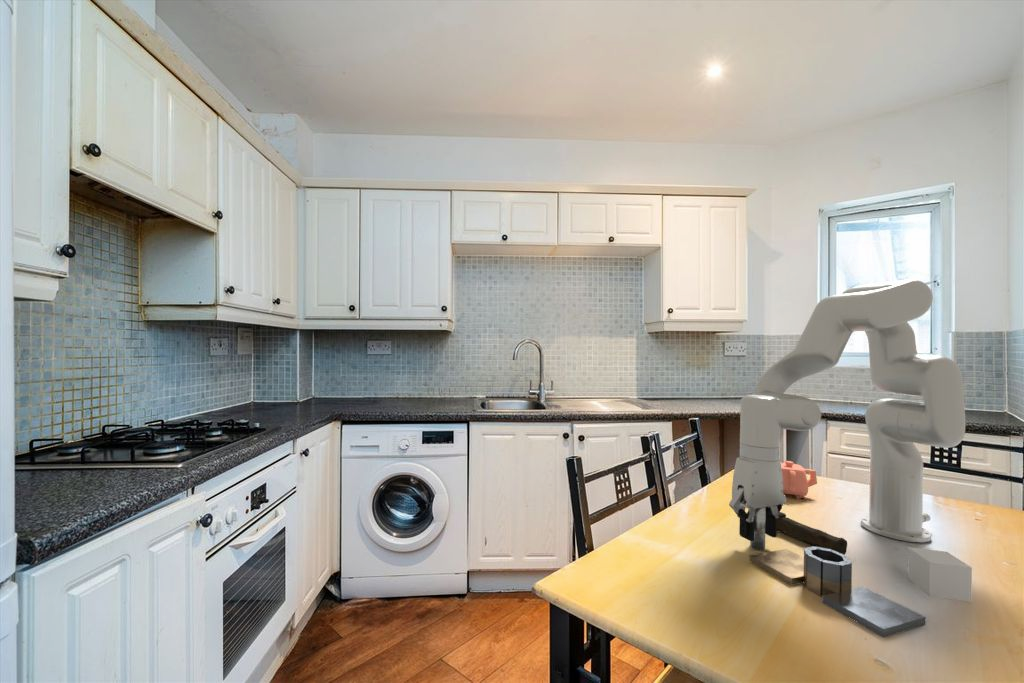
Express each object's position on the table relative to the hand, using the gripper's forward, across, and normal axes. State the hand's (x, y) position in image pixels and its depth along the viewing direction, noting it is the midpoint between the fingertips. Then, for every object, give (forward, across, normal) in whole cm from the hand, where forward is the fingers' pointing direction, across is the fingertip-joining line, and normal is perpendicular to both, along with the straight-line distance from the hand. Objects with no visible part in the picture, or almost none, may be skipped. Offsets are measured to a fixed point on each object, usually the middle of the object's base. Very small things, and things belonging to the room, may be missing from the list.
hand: (757, 535), depth 93 cm
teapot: (+3, -40, -25) cm, 47 cm away
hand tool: (+3, -13, -1) cm, 13 cm away
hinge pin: (+3, 0, 0) cm, 3 cm away
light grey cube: (+3, -18, +22) cm, 29 cm away
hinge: (+3, +2, +16) cm, 16 cm away
